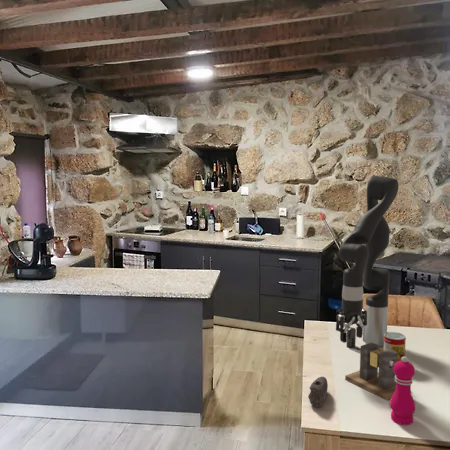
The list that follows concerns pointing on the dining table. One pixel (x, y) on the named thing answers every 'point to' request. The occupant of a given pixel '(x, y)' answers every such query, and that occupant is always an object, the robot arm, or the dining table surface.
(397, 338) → the canned food
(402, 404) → the pepper mill
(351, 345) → the shaft
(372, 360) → the spacer
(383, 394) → the shaft stand
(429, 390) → the dining table surface
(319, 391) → the perforated stone tool
